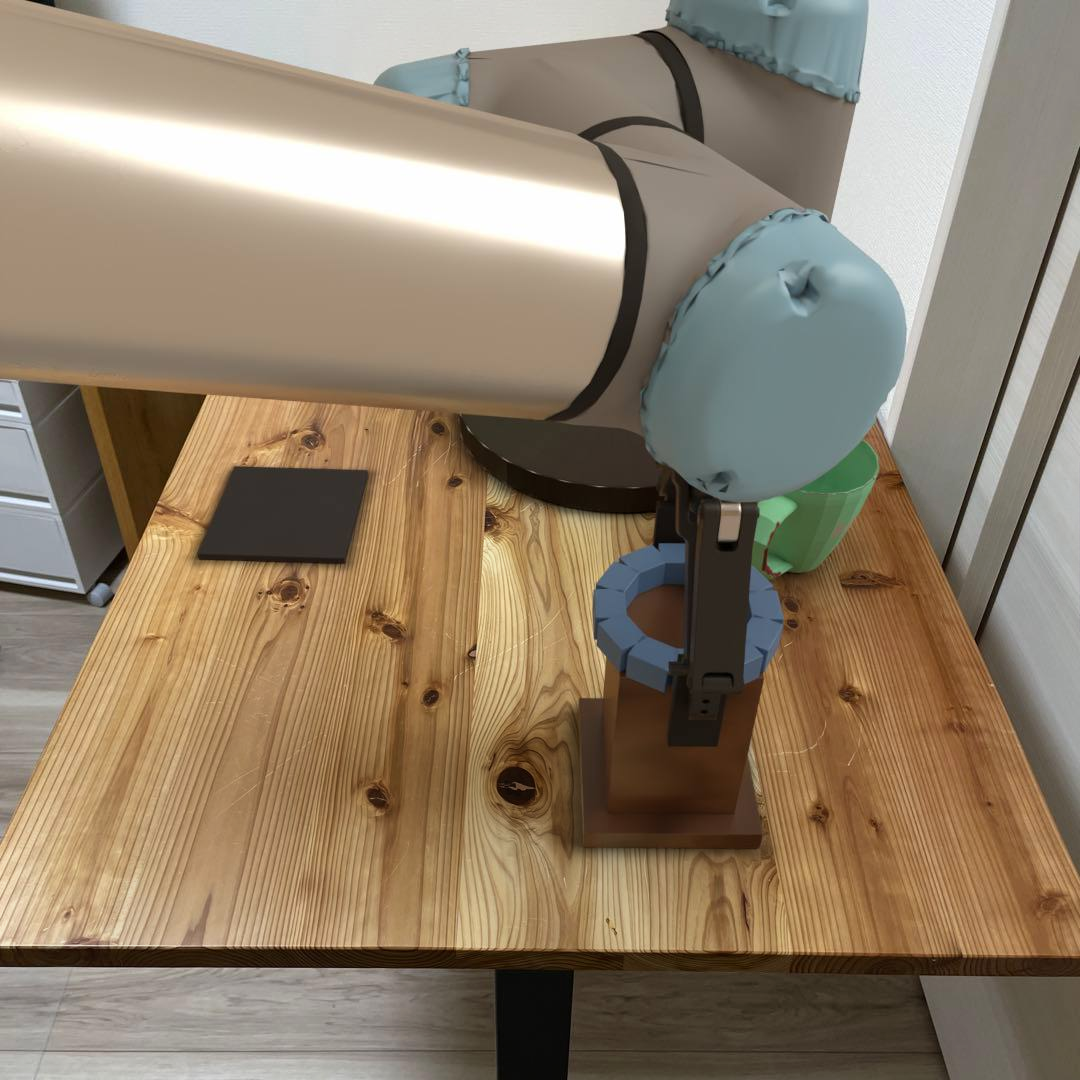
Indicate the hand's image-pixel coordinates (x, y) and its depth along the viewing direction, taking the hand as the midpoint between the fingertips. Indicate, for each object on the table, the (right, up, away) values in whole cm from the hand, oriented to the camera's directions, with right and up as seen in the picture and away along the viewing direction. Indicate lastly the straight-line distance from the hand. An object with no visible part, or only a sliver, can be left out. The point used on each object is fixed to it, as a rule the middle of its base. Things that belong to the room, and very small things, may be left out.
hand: (680, 657), depth 63 cm
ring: (0, +2, -2) cm, 3 cm away
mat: (-30, +9, +28) cm, 42 cm away
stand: (0, -9, +7) cm, 11 cm away
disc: (-1, +19, +40) cm, 44 cm away
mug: (+11, +4, +23) cm, 26 cm away
